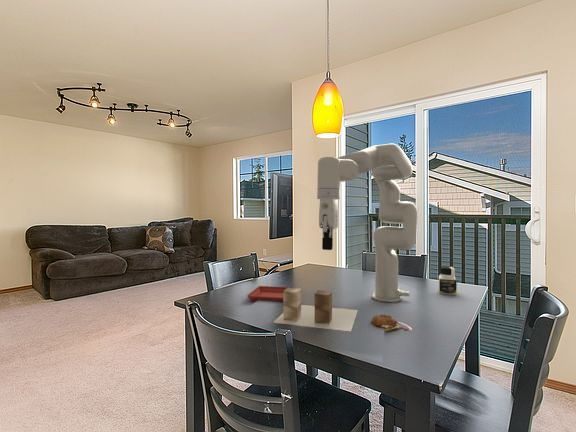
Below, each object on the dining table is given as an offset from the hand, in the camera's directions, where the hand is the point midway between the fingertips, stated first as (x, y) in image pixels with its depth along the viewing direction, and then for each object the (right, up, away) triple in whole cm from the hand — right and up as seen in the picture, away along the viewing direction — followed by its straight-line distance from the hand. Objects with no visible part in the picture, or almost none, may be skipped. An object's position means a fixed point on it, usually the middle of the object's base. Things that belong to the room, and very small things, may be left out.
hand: (327, 249), depth 109 cm
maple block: (-12, -25, +5) cm, 28 cm away
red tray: (-20, -26, +35) cm, 48 cm away
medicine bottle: (+62, -25, +44) cm, 80 cm away
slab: (-2, -26, +8) cm, 27 cm away
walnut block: (-1, -25, +2) cm, 25 cm away
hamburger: (+21, -27, 0) cm, 34 cm away
